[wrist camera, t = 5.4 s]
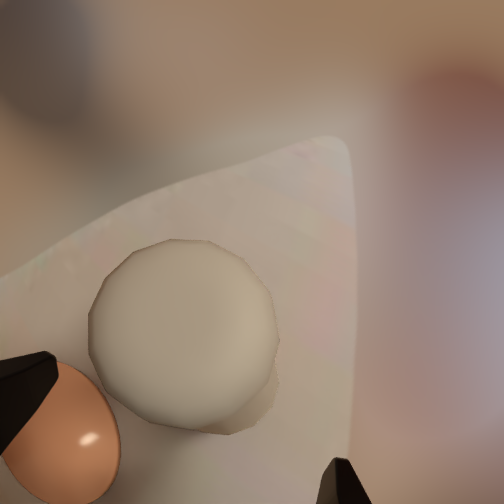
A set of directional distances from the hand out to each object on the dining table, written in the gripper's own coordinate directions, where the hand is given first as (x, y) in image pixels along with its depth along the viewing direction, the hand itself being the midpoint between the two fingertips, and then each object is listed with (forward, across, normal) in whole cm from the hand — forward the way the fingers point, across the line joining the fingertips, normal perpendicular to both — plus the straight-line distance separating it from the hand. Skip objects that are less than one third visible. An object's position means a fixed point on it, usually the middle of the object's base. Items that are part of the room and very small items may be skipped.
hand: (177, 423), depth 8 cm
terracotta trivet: (+3, +9, +10) cm, 14 cm away
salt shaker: (+8, 0, +5) cm, 10 cm away
